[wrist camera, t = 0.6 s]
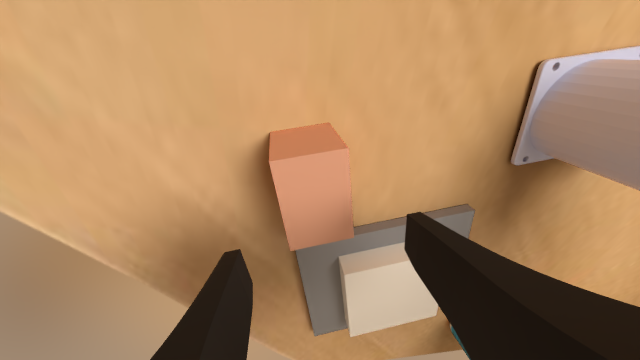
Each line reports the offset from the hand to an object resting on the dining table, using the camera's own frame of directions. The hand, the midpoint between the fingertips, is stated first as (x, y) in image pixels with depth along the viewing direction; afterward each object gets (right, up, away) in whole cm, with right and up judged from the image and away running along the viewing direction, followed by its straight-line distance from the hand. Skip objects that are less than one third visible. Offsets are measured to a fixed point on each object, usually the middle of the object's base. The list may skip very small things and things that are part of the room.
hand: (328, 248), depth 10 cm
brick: (-1, +4, +7) cm, 8 cm away
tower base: (+6, -6, +14) cm, 17 cm away
